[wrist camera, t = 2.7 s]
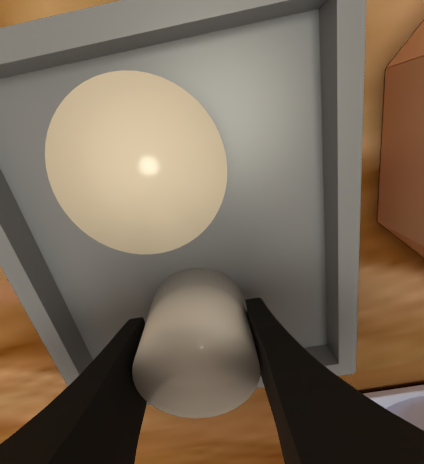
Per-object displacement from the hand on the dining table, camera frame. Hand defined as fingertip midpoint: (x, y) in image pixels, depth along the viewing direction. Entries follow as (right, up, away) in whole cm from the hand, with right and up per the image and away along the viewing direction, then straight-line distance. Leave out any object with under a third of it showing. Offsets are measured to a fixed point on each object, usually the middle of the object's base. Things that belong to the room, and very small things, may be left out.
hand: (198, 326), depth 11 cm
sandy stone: (-1, +7, -1) cm, 7 cm away
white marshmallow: (0, 0, +1) cm, 1 cm away
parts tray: (-1, +4, +1) cm, 4 cm away
